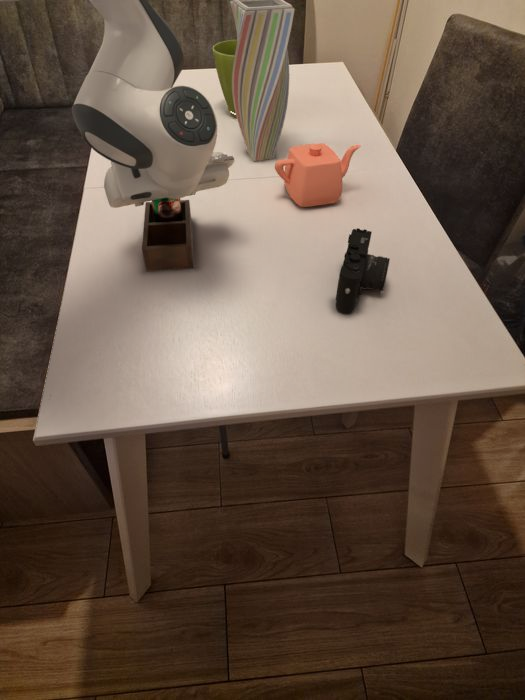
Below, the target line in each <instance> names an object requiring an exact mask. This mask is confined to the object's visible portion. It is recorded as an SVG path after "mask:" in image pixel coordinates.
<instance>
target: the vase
mask: <svg viewBox="0 0 525 700" xmlns="http://www.w3.org/2000/svg"><path fill="white" fill-rule="evenodd" d="M230 7H231V13H232V17H233V21H234V25H235V31H236V40H237V46H236V52H235V57H234V63H233V71H232V94H233V102H234V108H235V112H236V116H237V118H236V120H237V123H238V126H239V129H240V133H241V135H242V138H243V142H244V144H245V147H246V148H245V149H246V152H247V154H248V155H249V156H250V158H251V159H252V160H253V162H258V161H264V160H270V159H275V154H276V151H277V148H278V145H279V142H280V139H281V135H282V132H283V128H284V124H285V120H286V115H287V111H288V110H287V109H288V101H289V95H290V94H289V93H290V61H289V51H288V44H289V41H290V35H291V31H292V26H293V21H294V20H293V19H294V16H295V15H294V14H295V7H294V6H293V5H292V4H291V3H289V2H287V1H285V0H230Z"/></svg>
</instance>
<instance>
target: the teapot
mask: <svg viewBox="0 0 525 700" xmlns="http://www.w3.org/2000/svg"><path fill="white" fill-rule="evenodd" d="M361 146H362V145H361V144H354V145H352V146H350V147H349V148H347V149H346V151H345V152H344V154H343V156H342V159H340V157H339V156H338V154H337V153H336V152H335V151H334V150H333V149H332V148H331V147H330V146H329V145H327V144H326V143H324V142H323V143H322V142H321V143H311V144H303V145H301V144H300V145H294V146H291V147H290V148H289V151H288V154H287V156H286V158H284V159H279V160H277V161H275V163H274V170H275V172H276V174H277V175H278V176H279V177H280V178H281V179H282V180H283V182H284V186H285V189H286V191H287V193H288V195H289V197H290V198H291V199H292V200H293V202H295V204H297V205H298V206H299V207H301V208H304V207H305V208H306V207H317V206H323V205H328V204H334V203H337V202H338V201H339V200H340V198H341V196H342V192H343V178H345V176H346V175H347V173H348V170H349V166H350V163H351V159H352V158H353V157H352V156H353V155H354V154H355V152H356V151H357V150H358V149H360V148H361Z"/></svg>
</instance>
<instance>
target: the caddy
mask: <svg viewBox="0 0 525 700" xmlns="http://www.w3.org/2000/svg"><path fill="white" fill-rule="evenodd" d="M180 200H181V208H182V216H183V221H174V222H157V223H155V218H154V212H153V206H152V201H147V202H145V203H144V219H143V230H142V231H143V232H142V243H141V251H142V256H143V262H144V267H145V271H146V272H158V271H172V270H173V271H174V270H185V269H195V264H194V263H195V261H194V245H193V244H194V243H193V223H192V213H191V202H190V199H180Z"/></svg>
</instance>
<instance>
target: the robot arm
mask: <svg viewBox="0 0 525 700" xmlns="http://www.w3.org/2000/svg"><path fill="white" fill-rule="evenodd" d="M19 1H20V0H0V2H3V3H4V2H5V3H6V2H19ZM88 1H89V2H90V4H91V5H92V6H93V7H94V9H95V10H96V11H97V13H98V14H100V16H101V17H102V18H103V23H104V32H103V39H102V43H101V45H100V48H99V50H98V52H97V54H96V56H95V59H94V61H93V63H92V65H91V67H90V69H89V71H88V73H87V74H86V76H85V78H84V80H83V82H82V85H81V86H80V89H79V91H78V93H77V96H76V97H75V100H74V103H73V104H72V106H71V115H72V118H73V121H74V123H75V125H76V127H77V129H78V131H79V133H80V135H81V137H82V138H83V139H84V141H85V143H87V145H88V146H89V148H91V149H92V150H93V151H94V152H96V153H97V154H98V155H100V156H101V157H103V158H105V159H106V160H108V161H110V163H111V166H110V167H109V168H108V169H107V171H106V173H105V176H104V180H103V188H104V192H105V195H106V199H107V203H108V205H109V207H110V208H113V209H114V208H115V209H117V208H121V207H128V206H131V205H134V207H136V208H137V207H141V206H145V203H146V202H152V200H157V199H162V198H173V199H177V198H180V199H183V198H186V197H190V196H194V195H196V193H197V192H201V191H205V190H206V191H207V190H210V189H215V188H220V187H222V186H225V185H226V184H227V183H228V180H229V177H230V170H229V168H231V167H232V166H233V164H234V163H235V157H234V156H233V155H228V154H224V153H223V152H221V151H215V150H214V149H215V148H216V144H217V138H218V122H217V121H218V120H217V117H216V114H215V110H214V108H213V106H212V104H211V103H210V101H209V99H208V98H207V97H206V96H205V95H204V94H203V93H202V92H201V91H199V90H197V88H194V87H191V86H186V85H175V83H176V81H177V79H178V78H179V76H180V74H181V73H182V71H183V69H184V66H185V65H184V64H185V58H184V53H183V50H182V47H181V43H180V41H179V38H178V36H177V35H176V33H175V31H174V30H173V29H172V27H171V26H170V25H169V23H168V22H167V21H166V20H165V19H164V18H163V17H162V16H161V15H160V14H159V13H158V12H157V11H156V9H155V8H154V7H153V6H152V4H151V3H150V2H149V1H148V0H88ZM174 85H175V86H174Z"/></svg>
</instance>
